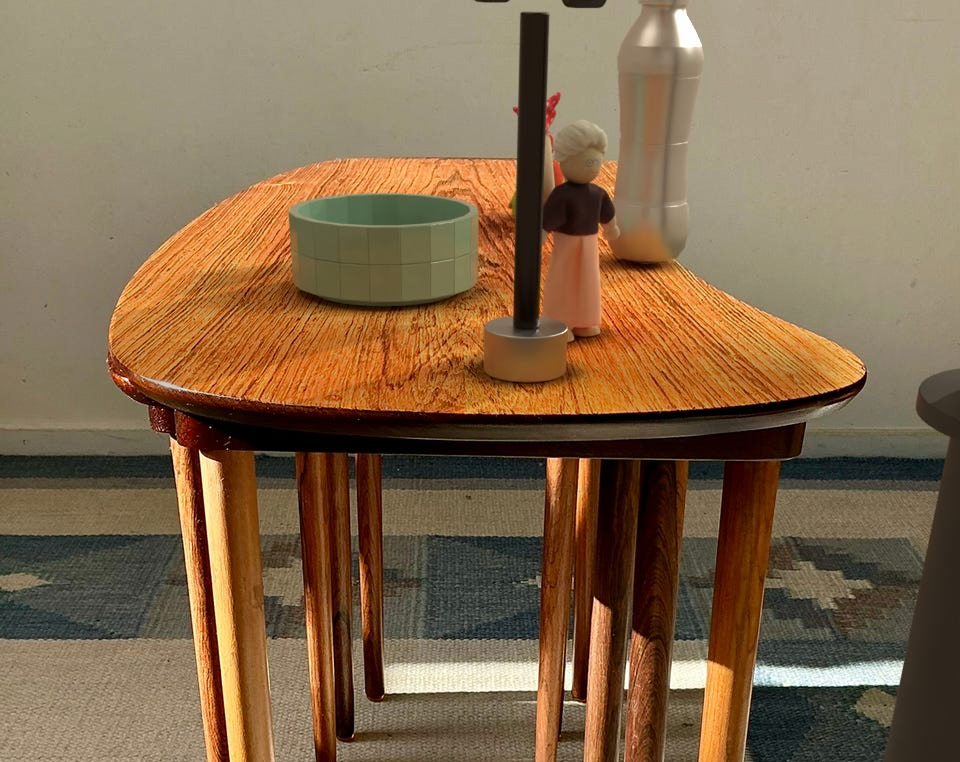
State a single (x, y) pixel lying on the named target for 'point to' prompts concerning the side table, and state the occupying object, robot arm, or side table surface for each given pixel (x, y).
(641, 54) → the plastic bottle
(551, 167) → the bird rattle
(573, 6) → the robot arm
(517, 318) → the paper towel stand
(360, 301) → the bowl
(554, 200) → the grandmother figurine
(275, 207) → the side table surface
